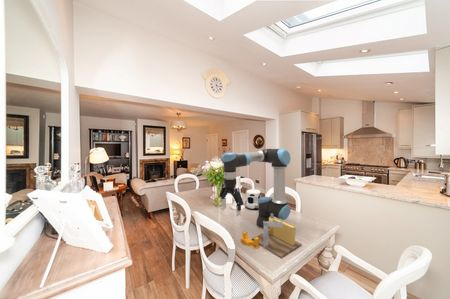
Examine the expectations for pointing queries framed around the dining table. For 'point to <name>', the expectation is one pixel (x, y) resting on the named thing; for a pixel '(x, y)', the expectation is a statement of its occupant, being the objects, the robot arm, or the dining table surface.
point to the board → (278, 245)
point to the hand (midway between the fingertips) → (230, 211)
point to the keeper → (265, 230)
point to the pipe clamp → (250, 241)
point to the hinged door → (282, 231)
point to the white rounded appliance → (252, 198)
